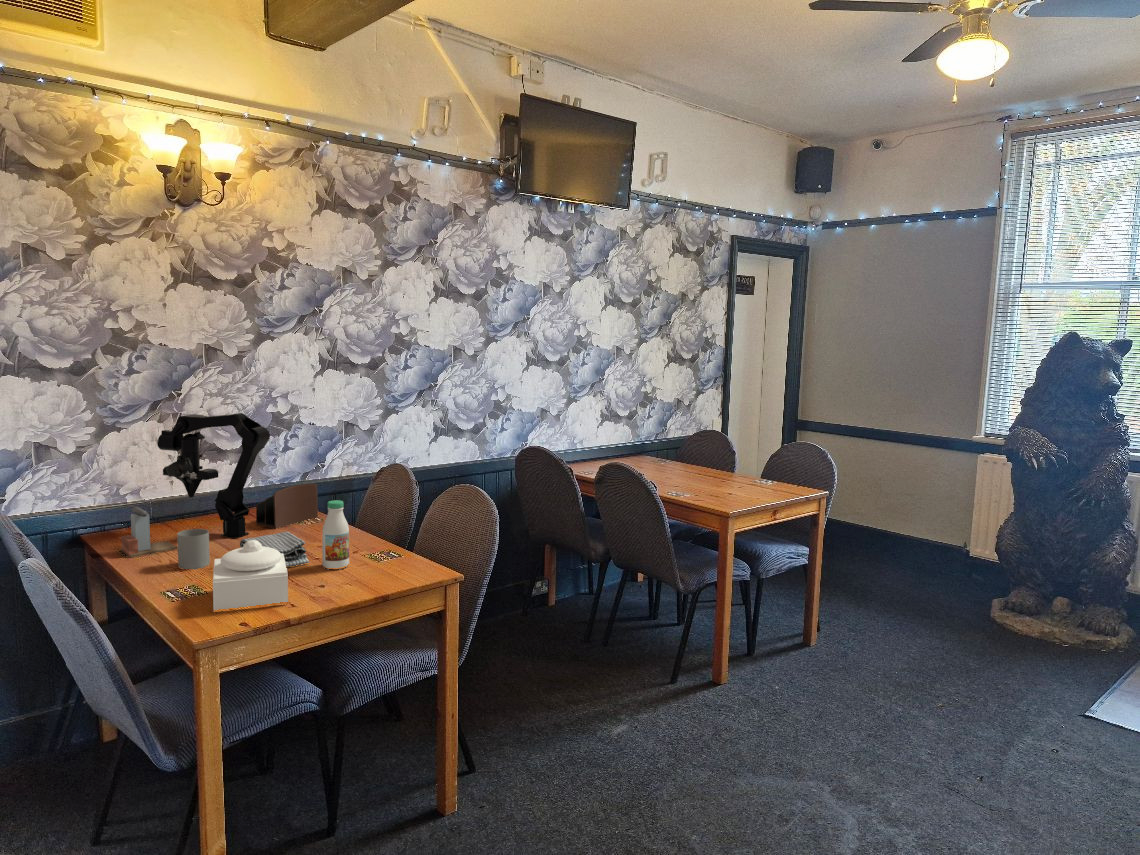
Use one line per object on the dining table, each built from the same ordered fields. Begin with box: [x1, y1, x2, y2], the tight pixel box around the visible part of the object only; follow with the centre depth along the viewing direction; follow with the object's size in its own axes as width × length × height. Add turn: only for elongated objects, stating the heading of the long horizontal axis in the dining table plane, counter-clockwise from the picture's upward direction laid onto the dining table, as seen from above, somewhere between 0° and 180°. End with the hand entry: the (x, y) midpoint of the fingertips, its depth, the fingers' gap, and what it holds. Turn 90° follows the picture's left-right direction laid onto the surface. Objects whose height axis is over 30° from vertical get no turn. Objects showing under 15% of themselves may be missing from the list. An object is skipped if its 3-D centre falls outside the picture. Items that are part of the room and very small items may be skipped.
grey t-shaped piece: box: [130, 505, 151, 551], centre depth 239 cm, size 4×8×13 cm, turn 46°
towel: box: [239, 531, 310, 567], centre depth 234 cm, size 15×18×8 cm
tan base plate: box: [120, 534, 178, 558], centre depth 241 cm, size 14×9×5 cm, turn 137°
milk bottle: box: [321, 499, 350, 568], centre depth 231 cm, size 8×8×20 cm
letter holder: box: [255, 483, 319, 530], centre depth 280 cm, size 10×20×14 cm, turn 152°
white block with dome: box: [212, 540, 289, 611], centre depth 204 cm, size 18×18×16 cm
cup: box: [176, 528, 211, 570], centre depth 228 cm, size 8×8×10 cm
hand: (191, 497), depth 263 cm, fingers closed
